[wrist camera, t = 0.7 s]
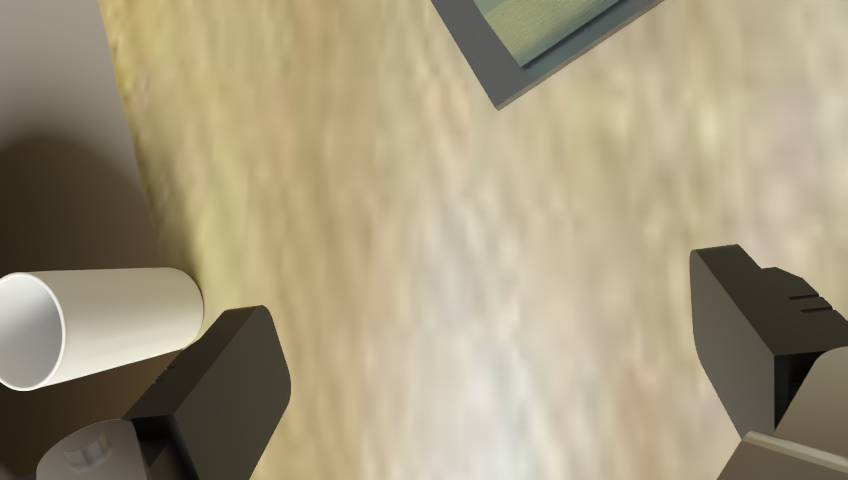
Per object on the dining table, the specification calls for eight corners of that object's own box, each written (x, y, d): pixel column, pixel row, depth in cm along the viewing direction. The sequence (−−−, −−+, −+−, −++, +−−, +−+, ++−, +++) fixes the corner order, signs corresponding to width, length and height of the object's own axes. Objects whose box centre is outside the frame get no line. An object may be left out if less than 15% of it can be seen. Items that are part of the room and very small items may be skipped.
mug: (179, 245, 47) (31, 248, 35) (223, 322, 45) (83, 351, 34) (94, 318, 49) (-69, 342, 38) (133, 392, 48) (-24, 440, 37)
